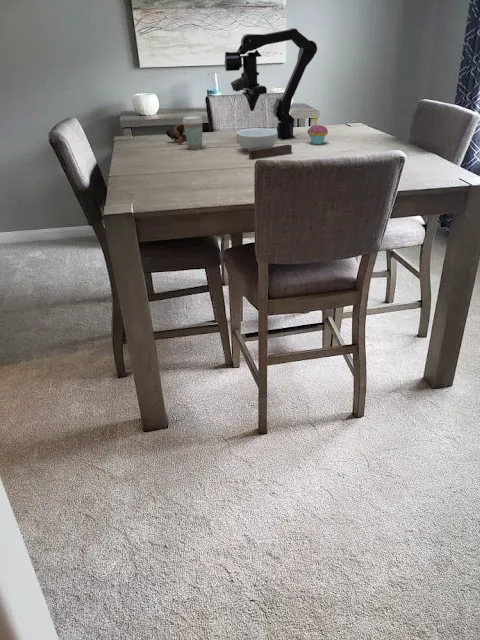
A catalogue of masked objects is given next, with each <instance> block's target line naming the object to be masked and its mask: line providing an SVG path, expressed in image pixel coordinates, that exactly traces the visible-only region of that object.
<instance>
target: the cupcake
mask: <svg viewBox="0 0 480 640" xmlns="http://www.w3.org/2000/svg"><path fill="white" fill-rule="evenodd" d="M313 124H314V125H312V126H310V127H309V128H308V129H307V134H308V137H309V139H310V142H311V144H312V145H322V144H323V143H324V140H325V138H326V136H327V135H328V133H329V131H328V128H327V127H326V126H324V125H320V124H317V120H316V114H315V112H313Z"/></svg>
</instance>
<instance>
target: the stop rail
mask: <svg viewBox="0 0 480 640" xmlns="http://www.w3.org/2000/svg"><path fill="white" fill-rule="evenodd" d="M292 148H293V145H291V144H281V145H274V146H272V147H267V148H260V149H253V150H249V151H248V159H249V160H255V159H262V158H266V157H267V158H268V157H269V158H270V157H275V156H283V155H288V154H289V155H290V154H292V153H293V152H292Z"/></svg>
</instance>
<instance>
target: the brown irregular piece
mask: <svg viewBox="0 0 480 640" xmlns="http://www.w3.org/2000/svg"><path fill="white" fill-rule="evenodd" d="M184 132H185V129H184V124H183V123H179V124H176V125H175V126H174V128H173V127H167V128H166V129H165V134H166V136H167V137H168V138H169V139H171V141H174V142H176V141H177V143H178V144H179V145H182V144H183V143H184V142H187V139H186V134H185V133H184Z"/></svg>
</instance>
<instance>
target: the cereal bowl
mask: <svg viewBox="0 0 480 640" xmlns="http://www.w3.org/2000/svg"><path fill="white" fill-rule="evenodd" d="M236 140H237V143H238V145H239V146H241V148H244V149H245V150H247V152H249V150H253V149H260V148H267V147H274V146H276V144H277V141H278V132H277V129H273V128H264V127H263V128H262V127H260V128H259V127H254V128H244V129H240V130H238V131H236Z"/></svg>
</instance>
